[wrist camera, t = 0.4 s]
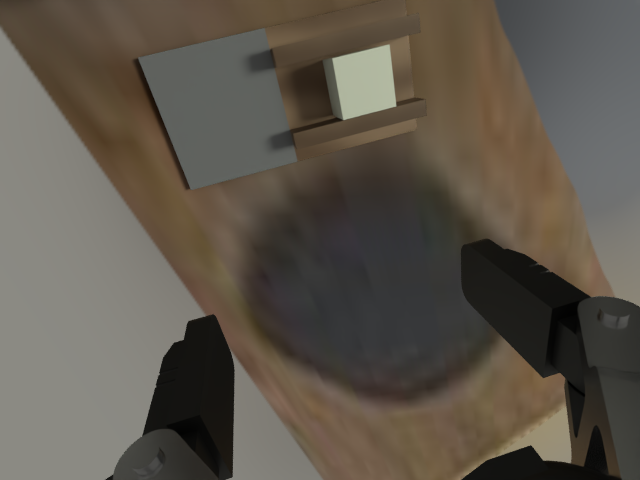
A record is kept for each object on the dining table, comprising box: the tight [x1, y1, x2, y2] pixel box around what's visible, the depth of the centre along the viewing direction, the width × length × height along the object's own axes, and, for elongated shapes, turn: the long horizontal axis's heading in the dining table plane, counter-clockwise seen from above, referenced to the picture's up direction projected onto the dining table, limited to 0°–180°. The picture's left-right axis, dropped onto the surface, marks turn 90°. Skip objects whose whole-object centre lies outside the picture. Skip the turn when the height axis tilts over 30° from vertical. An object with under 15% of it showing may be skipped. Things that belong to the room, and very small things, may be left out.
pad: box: [138, 28, 298, 190], centre depth 34 cm, size 12×11×1 cm
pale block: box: [323, 44, 396, 120], centre depth 33 cm, size 5×5×4 cm
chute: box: [265, 0, 427, 161], centre depth 34 cm, size 12×13×3 cm
